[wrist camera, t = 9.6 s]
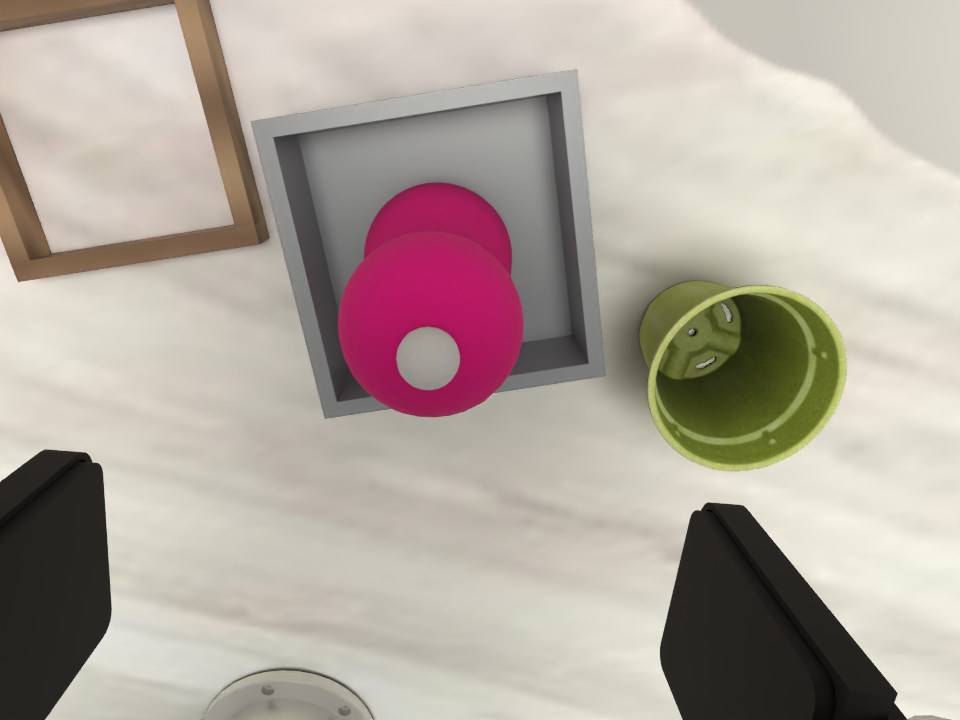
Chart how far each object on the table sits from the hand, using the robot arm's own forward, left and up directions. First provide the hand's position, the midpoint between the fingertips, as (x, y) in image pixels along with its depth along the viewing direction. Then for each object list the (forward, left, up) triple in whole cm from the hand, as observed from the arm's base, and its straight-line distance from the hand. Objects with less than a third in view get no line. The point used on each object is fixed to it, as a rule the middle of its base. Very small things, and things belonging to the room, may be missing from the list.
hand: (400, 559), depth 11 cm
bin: (+1, 0, -29) cm, 29 cm away
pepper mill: (0, 0, -28) cm, 28 cm away
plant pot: (-7, -14, -29) cm, 33 cm away
